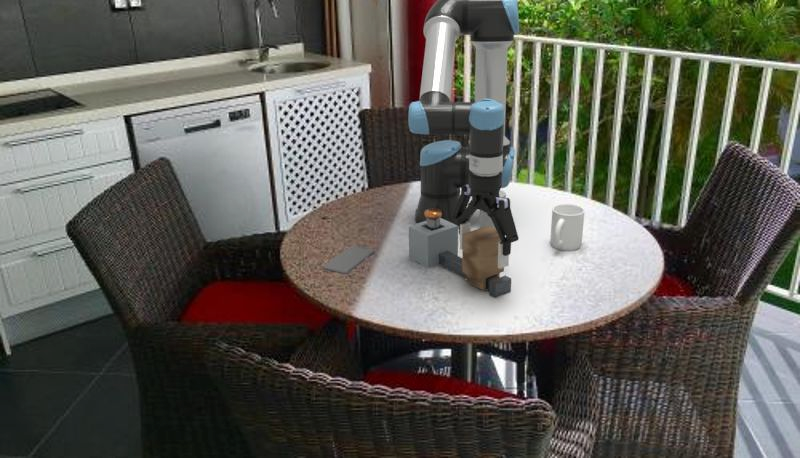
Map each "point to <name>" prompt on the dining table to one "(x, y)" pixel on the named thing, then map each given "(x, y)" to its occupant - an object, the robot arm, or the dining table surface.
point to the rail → (454, 264)
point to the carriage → (480, 255)
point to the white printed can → (487, 220)
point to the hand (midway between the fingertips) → (483, 257)
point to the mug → (567, 226)
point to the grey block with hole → (432, 242)
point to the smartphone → (348, 259)
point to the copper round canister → (433, 218)
